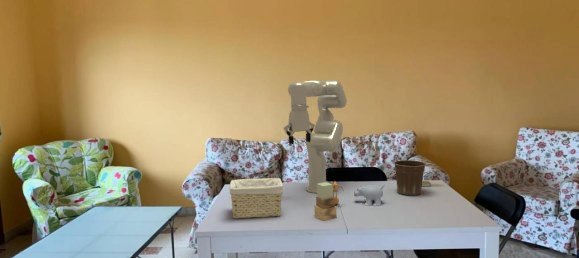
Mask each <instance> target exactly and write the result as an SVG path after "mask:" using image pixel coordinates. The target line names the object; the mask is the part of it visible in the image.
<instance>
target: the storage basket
mask: <svg viewBox="0 0 579 258" xmlns="http://www.w3.org/2000/svg"><path fill="white" fill-rule="evenodd" d="M283 188H284V186H283V183H282V179H281V178H279V177H277V178H276V177H271V178H270V177H268V178H244V179H243V178H242V179H241V178H240V179H232V180H231V181H230V182H229V195H230V200H231V211H232V218H233V219H245V218H247V219H248V218H249V219H251V218H269V217H280V216H282V215H281V214H282V213H281V210H282V198H283V192H284V189H283Z"/></svg>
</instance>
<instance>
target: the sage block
mask: <svg viewBox="0 0 579 258" xmlns="http://www.w3.org/2000/svg"><path fill="white" fill-rule="evenodd" d="M333 189H334V188H333V185H332V184H330V183H327V182H324V183H318V184H317V193H316V197H318V198H321V199H323V200H324V199H329V198H333Z"/></svg>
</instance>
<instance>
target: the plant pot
mask: <svg viewBox="0 0 579 258" xmlns="http://www.w3.org/2000/svg"><path fill="white" fill-rule="evenodd" d="M393 165H394V170H395V178H396V191H397V194H399V195H400V194H401V195H406V196H411V197H413V196H420V195H421V194H422V187H423V180H424V173H425V169H426V166H427V163H426V162H424V161H419V160H411V159H410V160H409V159H407V160H405V159H402V160H395V161H394V162H393Z"/></svg>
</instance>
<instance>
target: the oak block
mask: <svg viewBox="0 0 579 258" xmlns="http://www.w3.org/2000/svg"><path fill="white" fill-rule="evenodd" d="M337 213H338V212H337V206H335V207H333V208H328V209H322V208H320V207H318V206H316V204H315V205H314V217H316V218H318V219H319V220H321V221H327V220H332V219H336V218H337Z"/></svg>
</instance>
